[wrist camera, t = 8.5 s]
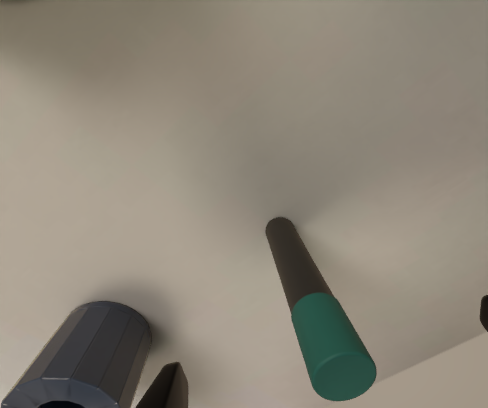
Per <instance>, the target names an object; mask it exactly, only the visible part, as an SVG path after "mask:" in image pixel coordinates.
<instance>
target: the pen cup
mask: <svg viewBox="0 0 488 408" xmlns="http://www.w3.org/2000/svg"><path fill="white" fill-rule="evenodd" d="M151 339H152V336H151V331H150V328H149V326H148V324H147V322H146V321H145V320H144V318H143V317H142V316H141V315H140V314H138V313H137V312H136V311H134V310H133V309H131V308H129V307H127V306H125V305H122V304H119V303H115V302H108V301H98V302H91V303H88V304H85V305H82V306H80V307H78V308H77V309H75V310H74V311H73V312H71V313H70V314H69V316H68V317H67V318H66V319H65V321H64V322H63V323H62V324H61V325H60V326H59V328H58V329H57V330H56V332H55V333H54V334H53V335H52V337H51V338H50V339H49V341H48V342H47V343H46V344H45V346H44V347H43V348H42V350H41V351H40V352H39V354H38V355H37V356H36V357H35V359H34V360H33V361H32V363H31V364H30V365H29V367H28V368H27V369H26V370H25V372H24V373H23V374H22V376H21V377H20V378H19V379H18V381H17V382H16V383H15V385H14V386H13V387H12V389H11V390H10V391H9V392H8V394H7V395H6V396H5V398H4V399H3V400H2V403H1V408H131V406H132V403H133V400H134V397H135V393H136V390H137V387H138V384H139V381H140V378H141V375H142V372H143V369H144V365H145V362H146V359H147V356H148V352H149V349H150V346H151Z"/></svg>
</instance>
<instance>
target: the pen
mask: <svg viewBox="0 0 488 408" xmlns="http://www.w3.org/2000/svg"><path fill="white" fill-rule="evenodd" d="M266 236H267V239H268V242H269V245H270V248H271V251H272V255H273V258H274V261H275V264H276V267H277V270H278V273H279V277H280V280H281V283H282V286H283V289H284V292H285V295H286V299H287V302H288V305H289V308H290V311H291V314H292V316H291V318H292V322H293V326H294V329H295V332H296V335H297V339H298V342H299V345H300V348H301V351H302V355H303V358H304V361H305V364H306V368H307V371H308V374H309V377H310V380H311V384H312V387H313V389H314V390H315V391H316V392H317V394H318V395H320V396H321V397H323V398H325V399H328V400H331V401H345V400H350V399H353V398H356V397H358V396H360V395H361V394H363V393H364V392H366V391H367V390H368V389H369V388H370V387H371V386H372V384H373V383H374V381H375V378H376V366H375V363H374V361H373V360H372V358H371V356H370V354H369V353H368V351H367V349H366V348H365V346H364V344H363V342H362V341H361V339H360V337H359V336H358V334H357V332H356V330H355V329H354V327H353V325H352V324H351V322H350V320H349V318H348V317H347V315H346V313H345V312H344V310H343V308H342V307H341V305H340V303H339V301H338V300H337V299H336V298H335V297H334V296H333V294H332V292H331V290H330V289H329V287H328V285H327V284H326V282H325V280H324V278H323V277H322V275H321V273H320V271H319V270H318V268H317V266H316V264H315V263H314V261H313V259H312V257H311V256H310V254H309V252H308V251H307V249H306V247H305V245H304V244H303V242H302V240H301V238H300V237H299V235H298V233H297V231H296V230H295V228H294V226H293V224H292V223H291V221H289V220H288V219H286V218H283V217H278V218H275V219H273V220H271V221H270V222H269V223H268V225H267V227H266Z"/></svg>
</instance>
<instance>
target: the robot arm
mask: <svg viewBox="0 0 488 408" xmlns="http://www.w3.org/2000/svg"><path fill="white" fill-rule="evenodd" d="M480 321H481V323H482V325H483V327H484V328H485V329H486V330H487V332H488V295H486V296H483V298H482V300H481V309H480ZM136 408H188V382H187V379H186V376H185V374H184V371H183V369H182V366H181V364H180V363H179V362H175V363H170V364H167V365H165V366H164V367H163V368H162V370H161V371H160V373H159V374H158V376H157V377H156V379H155V380H154V382H153V383H152V385H151V386H150V387H149V389H148V390H147V392H146V393H145V395H144V396H143V398H142V399H141V401H140V402H139V403H138V405H137V406H136Z"/></svg>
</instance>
